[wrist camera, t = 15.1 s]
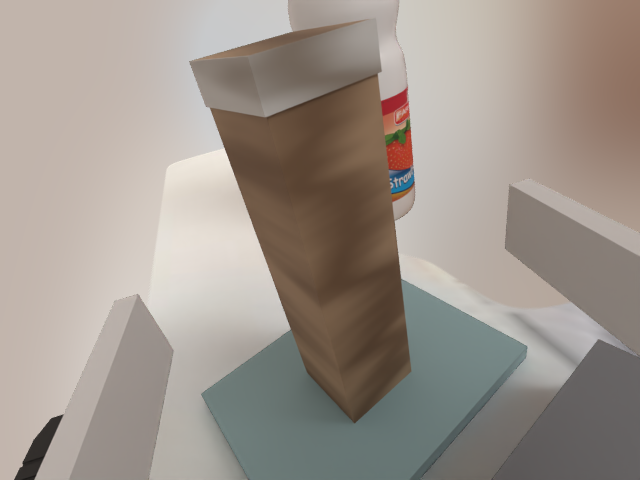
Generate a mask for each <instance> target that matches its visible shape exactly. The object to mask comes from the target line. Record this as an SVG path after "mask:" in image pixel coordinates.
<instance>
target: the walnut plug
mask: <svg viewBox="0 0 640 480" xmlns="http://www.w3.org/2000/svg"><path fill="white" fill-rule="evenodd" d="M189 62H190V65H191V68H192V70H193V73H194V76H195V78H196V81H197V83H198V87H199V89H200V92H201V95H202V97H203V100H204V103H205V105H206V107H210V109H211V112H212V115H213V117H214V120H215V123H216V125H217V128H218V131H219V134H220V136H221V139H222V142H223V145H224V147H225V150H226V153H227V156H228V158H229V161H230V164H231V167H232V169H233V172H234V175H235V177H236V180H237V183H238V186H239V188H240V191H241V194H242V197H243V199H244V202H245V205H246V208H247V210H248V213H249V216H250V218H251V221H252V224H253V227H254V229H255V232H256V235H257V238H258V240H259V243H260V246H261V249H262V251H263V254H264V257H265V259H266V262H267V265H268V268H269V270H270V273H271V276H272V279H273V281H274V284H275V287H276V289H277V292H278V295H279V298H280V300H281V303H282V306H283V309H284V311H285V314H286V317H287V320H288V322H289V325H290V328H291V330H292V333H293V336H294V339H295V341H296V344H297V347H298V350H299V352H300V355H301V358H302V360H303V363H304V366H305V369H306V371H307V373H308V374H309V375H310V377H311V378H312V379H313V380H314V381H315V382H316V383H317V384H318V385H319V386H320V387H321V388H322V389H323V390H324V391H325V393H326V394H327V395H328V396H329V397H330V398H331V399H332V400H333V401H334V402H335V403H336V404H337V405H338V406H339V408H340V409H341V410H342V411H343V412H344V413H345V414H346V415H347V416H348V417H349V418H350V419H351V420H352V421H353V422H354V424H355V423H356V422H357V421H358V420H359V419H360V418H361V417H362V416H364V415H365V414H366V413H367V412H368V411H369V410H370V409H371V408H372V407H373V406H374V405H375V404H377V403H378V402H379V401H380V400H381V399H382V398H383V397H384V396H385V395H386V394H387V393H389V392H390V391H391V390H392V389H393V388H394V387H395V386H396V385H397V384H398V383H399V382H400V381H402V380H403V379H404V378H405V377H406V376H407V375H408V374H409V373H410V372H411V362H410V354H409V345H408V336H407V327H406V318H405V310H404V301H403V292H402V283H401V274H400V265H399V257H398V248H397V240H396V230H395V222H394V213H393V204H392V195H391V186H390V177H389V168H388V160H387V151H386V142H385V133H384V124H383V116H382V107H381V98H380V89H379V80H378V73H380V72H382V69H381V59H380V50H379V41H378V32H377V22H376V18H370V19H364V20H358V21H352V22H346V23H340V24H334V25H328V26H322V27H316V28H310V29H304V30H298V31H293V32H290V33H287V34H283V35H280V36H276V37H273V38H269V39H266V40H262V41H259V42H255V43H252V44H248V45H245V46H241V47H238V48H235V49H231V50H227V51H224V52H220V53H217V54H213V55H210V56H206V57H203V58H199V59H196V60H192V61H189Z"/></svg>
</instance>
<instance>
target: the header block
mask: <svg viewBox="0 0 640 480" xmlns="http://www.w3.org/2000/svg"><path fill="white" fill-rule="evenodd" d="M492 480H640V358H639V357H636V356H634V355H632V354H630V353H628V352H626V351H623V350H621V349H619V348H617V347H615V346H612V345H610V344H608V343H606V342H604V341H601V340H599V339H598V341H597V342H596V343H595V345H594V346H593V347H592V348H591V350H590V351H589V352H588V354H587V355H586V356H585V358H584V359H583V360H582V362H581V363H580V364H579V366H578V367H577V368H576V369H575V371H574V372H573V373H572V375H571V376H570V377H569V379H568V380H567V381H566V383H565V384H564V385H563V387H562V388H561V389H560V391H559V392H558V393H557V394H556V396H555V397H554V398H553V400H552V401H551V402H550V404H549V405H548V406H547V408H546V409H545V410H544V412H543V413H542V414H541V415H540V417H539V418H538V419H537V421H536V422H535V423H534V425H533V426H532V427H531V429H530V430H529V431H528V433H527V434H526V435H525V436H524V438H523V439H522V440H521V442H520V443H519V444H518V446H517V447H516V448H515V450H514V451H513V452H512V454H511V455H510V456H509V457H508V459H507V460H506V461H505V463H504V464H503V465H502V467H501V468H500V469H499V471H498V472H497V473H496V475H495V476H494V477H493V478H492Z"/></svg>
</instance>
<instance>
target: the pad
mask: <svg viewBox="0 0 640 480" xmlns="http://www.w3.org/2000/svg"><path fill="white" fill-rule="evenodd" d="M401 283H402V292H403V301H404V310H405V318H406V327H407V336H408V345H409V354H410V362H411V372H410V373H409V374H408V375H407V376H406V377H405V378H404V379H403V380H402V381H400V382H399V383H398V384H397V385H396V386H395V387H394V388H393V389H392V390H391V391H390V392H389V393H387V394H386V395H385V396H384V397H383V398H382V399H381V400H380V401H379V402H378V403H377V404H375V405H374V406H373V407H372V408H371V409H370V410H369V411H368V412H367V413H366V414H365V415H364V416H362V417H361V418H360V419H359V420H358V421H357V422H356V423H355V424H354V422H353V421H352V420H351V419H350V418H349V417H348V416H347V415H346V414H345V413H344V412H343V411H342V410H341V409H340V408H339V406H338V405H337V404H336V403H335V402H334V401H333V400H332V399H331V398H330V397H329V396H328V395H327V394H326V393H325V391H324V390H323V389H322V388H321V387H320V386H319V385H318V384H317V383H316V382H315V381H314V380H313V379H312V378H311V377H310V375H309V374H308V373H307V371H306V369H305V366H304V363H303V360H302V358H301V355H300V352H299V350H298V347H297V344H296V341H295V339H294V336H293V333H292V330H290V331H288V332H287V333H286V334H284V335H283V336H281V337H280V338H279V339H277V340H276V341H274V342H273V343H272V344H270V345H269V346H267V347H266V348H265V349H263V350H262V351H260V352H259V353H258V354H256V355H255V356H253V357H252V358H251V359H249V360H248V361H246V362H245V363H244V364H242V365H241V366H239V367H238V368H237V369H235V370H234V371H232V372H231V373H230V374H228V375H227V376H226V377H224V378H223V379H221V380H220V381H219V382H217V383H216V384H214V385H213V386H212V387H210V388H209V389H207V390H206V391H205V392H203V393H202V394H201V395H202V397H203V399H204V400H205V402H206V404H207V406H208V408H209V409H210V411H211V413H212V415H213V416H214V418H215V420H216V422H217V424H218V425H219V427H220V429H221V431H222V433H223V434H224V436H225V438H226V440H227V442H228V443H229V445H230V447H231V449H232V450H233V452H234V454H235V456H236V458H237V459H238V461H239V463H240V465H241V467H242V468H243V470H244V472H245V474H246V475H247V477H248V479H249V480H419V479H420V478H421V477H422V476H423V474H424V473H425V472H426V471H427V470H428V469H429V468H430V466H431V465H432V464H433V463H434V462H435V461H436V460H437V458H438V457H439V456H440V455H441V454H442V453H443V452H444V450H445V449H446V448H447V447H448V446H449V445H450V444H451V442H452V441H453V440H454V439H455V438H456V437H457V436H458V434H459V433H460V432H461V431H462V430H463V429H464V428H465V426H466V425H467V424H468V423H469V422H470V421H471V420H472V418H473V417H474V416H475V415H476V414H477V413H478V412H479V410H480V409H481V408H482V407H483V406H484V405H485V404H486V402H487V401H488V400H489V399H490V398H491V397H492V396H493V394H494V393H495V392H496V391H497V390H498V389H499V388H500V386H501V385H502V384H503V383H504V382H505V381H506V380H507V378H508V377H509V376H510V375H511V374H512V373H513V371H514V370H515V369H516V368H517V367H518V366H519V365H520V363H521V362H522V361H523V360H524V359H525V358H526V353H527V346H526V345H524V344H522V343H520V342H518V341H517V340H515V339H513V338H511V337H509V336H507V335H505V334H504V333H502V332H500V331H498V330H496V329H494V328H492V327H490V326H489V325H487V324H485V323H483V322H481V321H479V320H477V319H475V318H474V317H472V316H470V315H468V314H466V313H464V312H462V311H461V310H459V309H457V308H455V307H453V306H451V305H449V304H447V303H446V302H444V301H442V300H440V299H438V298H436V297H434V296H432V295H431V294H429V293H427V292H425V291H423V290H421V289H419V288H418V287H416V286H414V285H412V284H410V283H408V282H406V281H404V280H403V279H401Z"/></svg>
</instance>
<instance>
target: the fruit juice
mask: <svg viewBox="0 0 640 480" xmlns="http://www.w3.org/2000/svg"><path fill="white" fill-rule="evenodd" d="M398 9H399V0H288V13H289V20H290V25H291V28H292V30H293V31H298V30H304V29H310V28H316V27H322V26H328V25H334V24H340V23H346V22H352V21H358V20H364V19H370V18H376V22H377V32H378V41H379V50H380V59H381V69H382V72H380V73H378V80H379V89H380V98H381V107H382V116H383V124H384V133H385V142H386V151H387V160H388V168H389V177H390V186H391V195H392V204H393V213H394V221H395V220H397V219H399V218H401V217H403V216H404V215H405V214H407V213H408V212H409V211H410V210H411V208H412V206H413V204H414V200H415V182H414V169H413V155H412V142H411V128H410V114H409V101H408V84H407V73H406V66H405V59H404V54H403V51H402V48H401V47H400V45H399V43H398V40H397V36H396V23H397V16H398Z"/></svg>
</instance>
